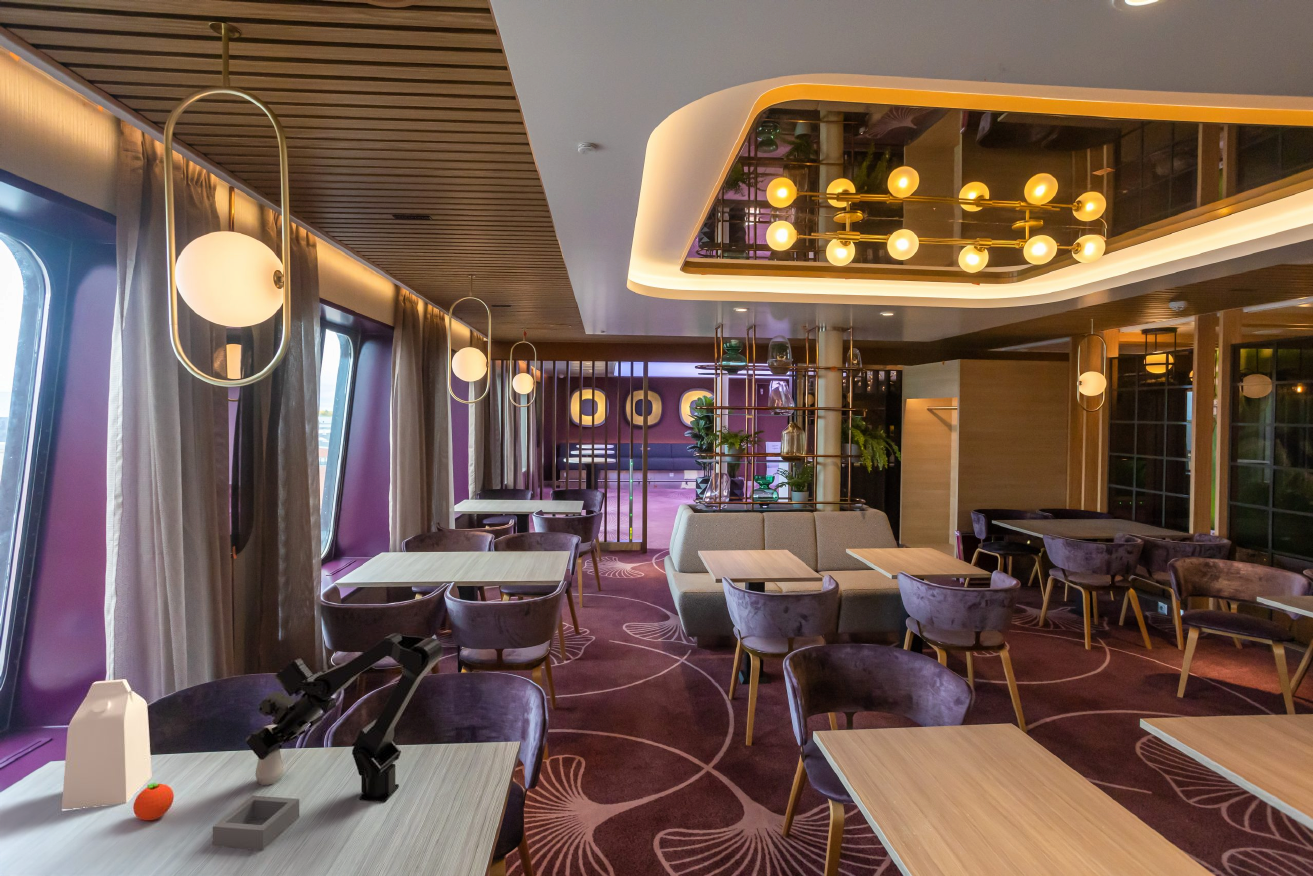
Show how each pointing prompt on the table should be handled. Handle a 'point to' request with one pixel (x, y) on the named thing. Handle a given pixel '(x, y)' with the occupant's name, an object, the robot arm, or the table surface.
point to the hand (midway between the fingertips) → (264, 751)
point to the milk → (107, 747)
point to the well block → (257, 837)
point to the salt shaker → (269, 767)
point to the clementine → (153, 801)
